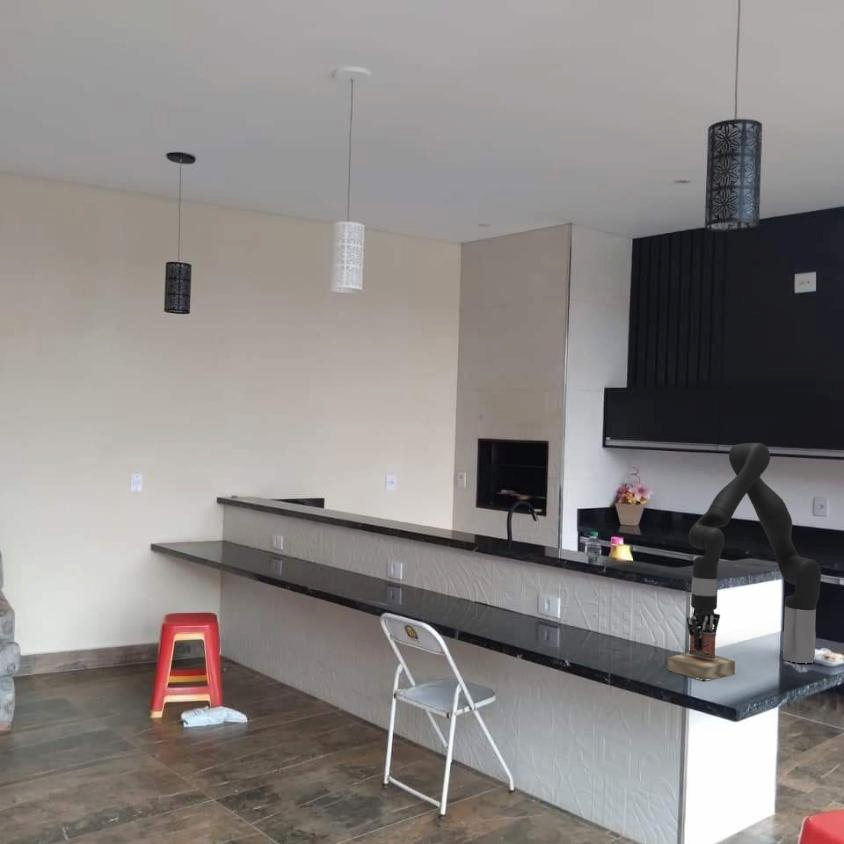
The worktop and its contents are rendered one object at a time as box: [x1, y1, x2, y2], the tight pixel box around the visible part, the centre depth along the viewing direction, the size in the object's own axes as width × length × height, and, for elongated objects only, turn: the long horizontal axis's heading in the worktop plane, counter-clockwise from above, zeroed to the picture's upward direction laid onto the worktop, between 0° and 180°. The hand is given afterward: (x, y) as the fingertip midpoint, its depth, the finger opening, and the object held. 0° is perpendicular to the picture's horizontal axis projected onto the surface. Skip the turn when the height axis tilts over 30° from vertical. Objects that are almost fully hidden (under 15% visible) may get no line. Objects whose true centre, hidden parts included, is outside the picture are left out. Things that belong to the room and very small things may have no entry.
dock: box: [667, 652, 736, 680], centre depth 270 cm, size 15×13×4 cm
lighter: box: [688, 624, 717, 659], centre depth 270 cm, size 8×3×10 cm, turn 48°
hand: (702, 648), depth 270 cm, fingers closed on lighter, 3 cm apart
